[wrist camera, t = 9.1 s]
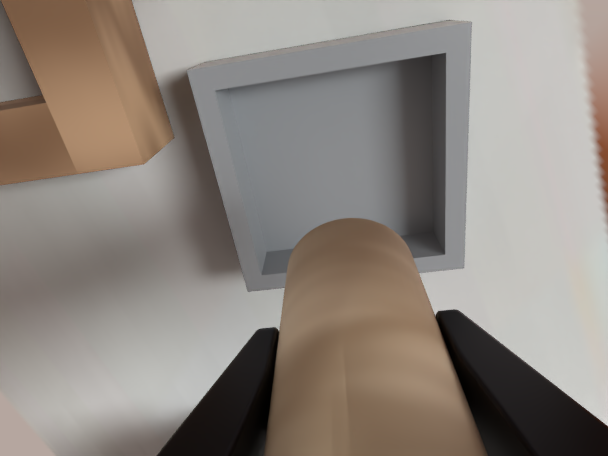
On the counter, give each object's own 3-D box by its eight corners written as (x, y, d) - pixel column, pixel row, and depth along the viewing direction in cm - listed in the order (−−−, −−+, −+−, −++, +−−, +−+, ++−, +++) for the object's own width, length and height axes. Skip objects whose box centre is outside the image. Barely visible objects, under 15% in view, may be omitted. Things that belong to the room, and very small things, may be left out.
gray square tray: (447, 238, 20) (464, 268, 17) (255, 260, 21) (247, 291, 19) (449, 19, 15) (471, 21, 13) (205, 61, 16) (186, 70, 14)
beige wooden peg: (411, 209, 9) (589, 591, 3) (416, 316, 11) (542, 718, 5) (276, 226, 10) (201, 601, 4) (298, 328, 11) (271, 717, 5)
